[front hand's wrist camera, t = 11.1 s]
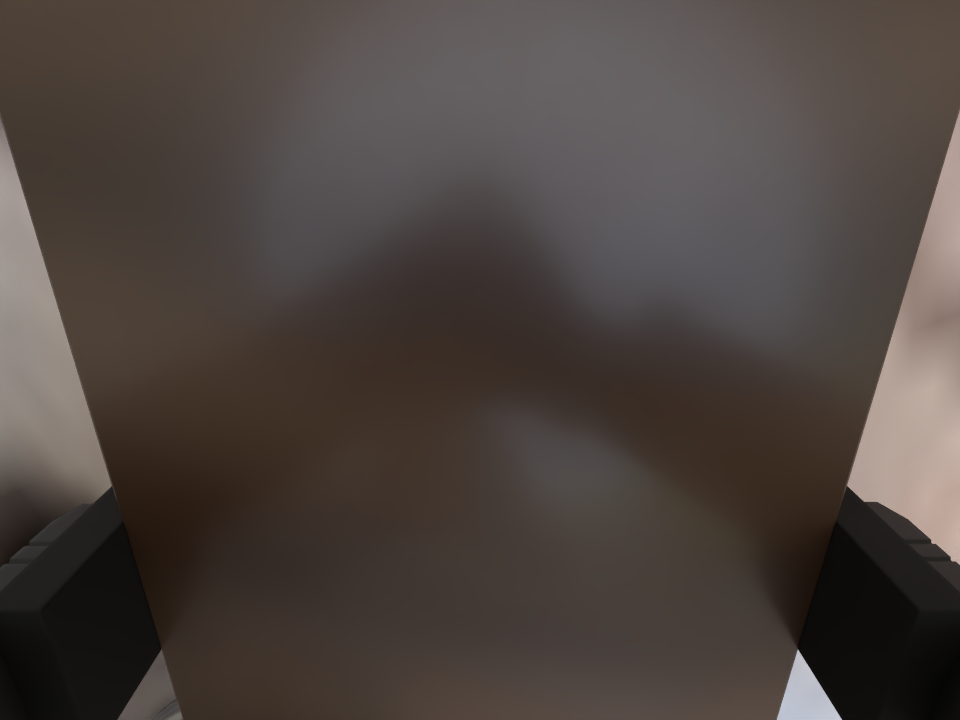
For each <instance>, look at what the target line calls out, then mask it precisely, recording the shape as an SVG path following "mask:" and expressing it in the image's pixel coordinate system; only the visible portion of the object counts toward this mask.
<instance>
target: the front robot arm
mask: <svg viewBox="0 0 960 720" xmlns="http://www.w3.org/2000/svg"><path fill="white" fill-rule="evenodd" d="M950 558H951V557H950V556H949V555H948V554H946V553H945V552H944V551H943V550H942V549H941V548H940V547H939V546H937V545H936V544H932V543H931V539H929V538H928V537H927V536H926V535H925V534H924V533H923V532H922V531H920V530H919V529H918V528H917V527H916V526H915V525H914V524H913V523H911V522H910V521H909V520H908V519H906V518H904V517H903V516H901V515H899V514H897V513H896V512H894V511H892V510H890V509H889V508H887V507H885V506H883V505H882V504H880V503H878V502H864V501H862V500H861V499H860V498H859V497H858V496H857V495H856V494H855V493H854V492H853V491H852V490H851V489H850V488H849V487H848V486H847V487H846V490H845V493H844V497H843V500H842V503H841V507H840V510H839V513H838V517H837V520H836V523H835V527H834V530H833V533H832V537H831V540H830V543H829V547H828V550H827V553H826V557H825V560H824V563H823V567H822V570H821V573H820V577H819V580H818V583H817V587H816V590H815V593H814V597H813V600H812V603H811V607H810V610H809V613H808V617H807V620H806V623H805V627H804V630H803V633H802V637H801V640H800V643H799V647H798V650H799V651H800V653H801V655H802V656H803V658H804V659H805V661H806V663H807V664H808V666H809V667H810V669H811V671H812V672H813V674H814V675H815V677H816V679H817V680H818V682H819V683H820V685H821V687H822V688H823V690H824V691H825V693H826V695H827V696H828V698H829V699H830V701H831V703H832V704H833V706H834V707H835V709H836V711H837V712H838V714H839V715H840V717H841V719H842V720H960V565H959V564H958V563H957V562H952V561H951V559H950ZM160 650H161V646H160V643H159V640H158V636H157V633H156V630H155V626H154V623H153V620H152V616H151V613H150V610H149V606H148V603H147V600H146V597H145V593H144V590H143V587H142V583H141V580H140V577H139V573H138V570H137V567H136V563H135V560H134V557H133V554H132V550H131V547H130V544H129V540H128V537H127V534H126V530H125V527H124V524H123V520H122V517H121V514H120V511H119V507H118V504H117V501H116V497H115V494H114V491H113V487H111V488H110V489H109V490H108V491H106V492H105V493H104V494H103V495H102V496H101V497H100V498H99V499H98V500H97V501H96V502H95V503H94V504H82V505H80V506H78V507H76V508H75V509H73V510H71V511H69V512H68V513H66V514H64V515H62V516H61V517H59V518H57V519H55V520H54V521H52V522H51V523H50V524H49V525H47V526H46V527H45V528H44V529H43V530H42V531H41V532H40V533H38V534H37V535H36V536H35V537H34V538H33V539H32V540H31V541H29V545H28V546H24V547H23V548H22V549H20V550H19V551H18V552H17V553H16V554H15V555H14V556H13V557H11V558H10V559H9V563H8V564H4V565H2V566H1V567H0V720H117V719H118V718H119V716H120V714H121V713H122V711H123V710H124V708H125V706H126V705H127V703H128V702H129V700H130V698H131V697H132V695H133V694H134V692H135V690H136V689H137V687H138V686H139V684H140V682H141V681H142V679H143V678H144V676H145V674H146V673H147V671H148V670H149V668H150V666H151V665H152V663H153V662H154V660H155V658H156V657H157V655H158V654H159V652H160ZM153 720H183V719H182V716H181V712H180V709H179V706H178V702H177V699H176V700H174V701H173V702H171V703H170V704H169V705H168V706H166V707H165V708H164V709H163V710H162V711H161V712H160V713H159V714H158V715H157V716H156V717H155V718H154V719H153Z"/></svg>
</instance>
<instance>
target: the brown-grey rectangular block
mask: <svg viewBox="0 0 960 720" xmlns="http://www.w3.org/2000/svg"><path fill="white" fill-rule="evenodd" d="M959 110H960V0H0V117H1V120H2V123H3V127H4V130H5V133H6V137H7V140H8V143H9V147H10V150H11V153H12V157H13V160H14V163H15V166H16V170H17V173H18V176H19V180H20V183H21V186H22V190H23V193H24V196H25V200H26V203H27V206H28V209H29V213H30V216H31V219H32V223H33V226H34V229H35V233H36V236H37V239H38V243H39V246H40V249H41V252H42V256H43V259H44V262H45V266H46V269H47V272H48V276H49V279H50V282H51V286H52V289H53V292H54V295H55V299H56V302H57V305H58V309H59V312H60V315H61V319H62V322H63V325H64V329H65V332H66V335H67V338H68V342H69V345H70V348H71V352H72V355H73V358H74V362H75V365H76V368H77V372H78V375H79V378H80V381H81V385H82V388H83V391H84V395H85V398H86V401H87V405H88V408H89V411H90V415H91V418H92V421H93V425H94V428H95V431H96V434H97V438H98V441H99V444H100V448H101V451H102V454H103V458H104V461H105V464H106V468H107V471H108V474H109V477H110V481H111V484H112V487H113V491H114V494H115V497H116V501H117V504H118V507H119V511H120V514H121V517H122V520H123V524H124V527H125V530H126V534H127V537H128V540H129V544H130V547H131V550H132V554H133V557H134V560H135V563H136V567H137V570H138V573H139V577H140V580H141V583H142V587H143V590H144V593H145V597H146V600H147V603H148V606H149V610H150V613H151V616H152V620H153V623H154V626H155V630H156V633H157V636H158V640H159V643H160V646H161V649H162V653H163V656H164V659H165V663H166V666H167V669H168V673H169V676H170V679H171V683H172V686H173V689H174V692H175V696H176V699H177V702H178V706H179V709H180V712H181V716H182V719H183V720H777V717H778V713H779V710H780V707H781V703H782V700H783V697H784V693H785V690H786V687H787V683H788V680H789V677H790V673H791V670H792V667H793V663H794V660H795V657H796V653H797V650H798V647H799V643H800V640H801V637H802V633H803V630H804V627H805V623H806V620H807V617H808V613H809V610H810V607H811V603H812V600H813V597H814V593H815V590H816V587H817V583H818V580H819V577H820V573H821V570H822V567H823V563H824V560H825V557H826V553H827V550H828V547H829V543H830V540H831V537H832V533H833V530H834V527H835V523H836V520H837V517H838V513H839V510H840V507H841V503H842V500H843V497H844V493H845V490H846V487H847V483H848V480H849V477H850V473H851V470H852V467H853V463H854V460H855V457H856V453H857V450H858V447H859V443H860V440H861V437H862V434H863V430H864V427H865V424H866V420H867V417H868V414H869V410H870V407H871V404H872V400H873V397H874V394H875V390H876V387H877V384H878V380H879V377H880V374H881V370H882V367H883V364H884V360H885V357H886V354H887V350H888V347H889V344H890V340H891V337H892V334H893V330H894V327H895V324H896V320H897V317H898V314H899V310H900V307H901V304H902V300H903V297H904V294H905V290H906V287H907V284H908V280H909V277H910V274H911V270H912V267H913V264H914V260H915V257H916V254H917V250H918V247H919V244H920V240H921V237H922V234H923V230H924V227H925V224H926V220H927V217H928V214H929V210H930V207H931V204H932V200H933V197H934V194H935V190H936V187H937V184H938V180H939V177H940V174H941V170H942V167H943V164H944V160H945V157H946V154H947V150H948V147H949V144H950V140H951V137H952V134H953V130H954V127H955V124H956V120H957V117H958V114H959Z"/></svg>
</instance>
